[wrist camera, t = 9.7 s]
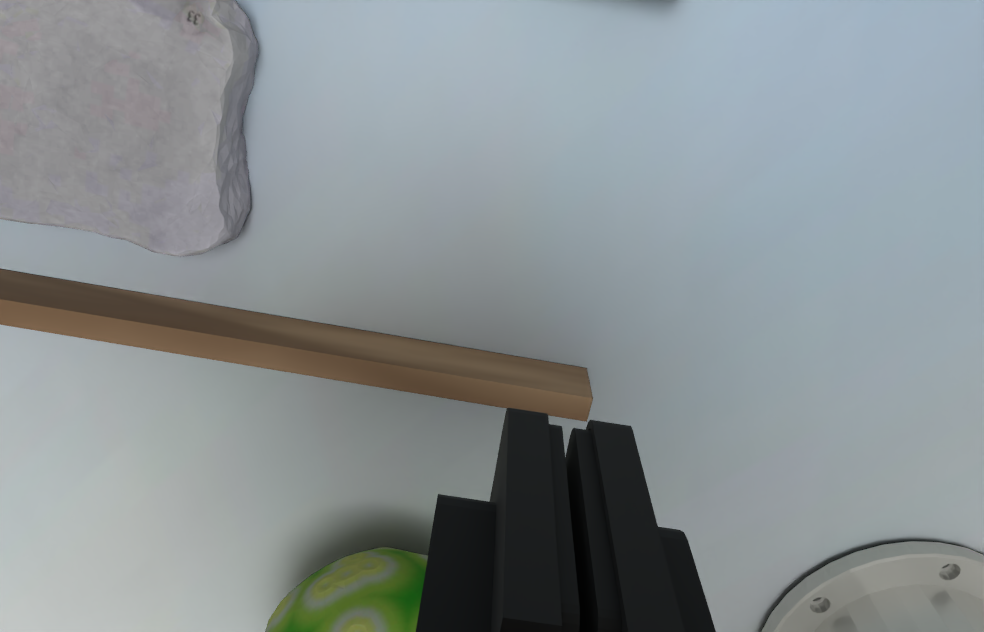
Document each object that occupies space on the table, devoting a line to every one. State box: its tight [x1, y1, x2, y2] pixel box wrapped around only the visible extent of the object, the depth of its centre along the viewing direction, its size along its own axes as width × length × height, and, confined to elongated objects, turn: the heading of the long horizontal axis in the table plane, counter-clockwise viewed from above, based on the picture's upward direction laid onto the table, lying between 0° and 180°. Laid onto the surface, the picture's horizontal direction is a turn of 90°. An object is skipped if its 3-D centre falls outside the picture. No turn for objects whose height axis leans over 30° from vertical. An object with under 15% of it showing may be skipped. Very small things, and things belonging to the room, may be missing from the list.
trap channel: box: [0, 269, 593, 421], centre depth 26 cm, size 20×28×4 cm
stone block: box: [0, 0, 258, 257], centre depth 27 cm, size 12×5×10 cm
